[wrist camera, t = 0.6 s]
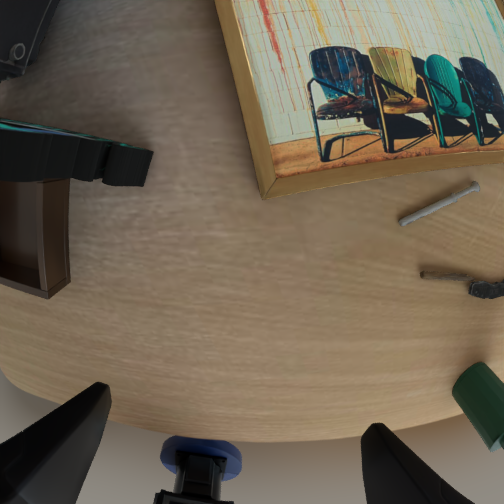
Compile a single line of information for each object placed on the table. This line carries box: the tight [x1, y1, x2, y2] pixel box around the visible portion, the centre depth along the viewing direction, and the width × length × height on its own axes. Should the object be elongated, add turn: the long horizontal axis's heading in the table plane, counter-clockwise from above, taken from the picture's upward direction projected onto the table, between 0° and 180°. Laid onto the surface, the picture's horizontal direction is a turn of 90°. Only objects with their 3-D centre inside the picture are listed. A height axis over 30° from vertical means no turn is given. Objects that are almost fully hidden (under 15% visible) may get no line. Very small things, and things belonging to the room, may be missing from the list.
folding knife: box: [468, 280, 504, 299], centre depth 22 cm, size 13×1×2 cm
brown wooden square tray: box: [0, 178, 71, 299], centre depth 18 cm, size 9×9×4 cm
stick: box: [420, 271, 475, 281], centre depth 21 cm, size 7×1×1 cm, turn 84°
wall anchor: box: [399, 181, 480, 226], centre depth 19 cm, size 1×9×1 cm
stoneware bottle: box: [452, 362, 504, 452], centre depth 19 cm, size 6×6×14 cm
